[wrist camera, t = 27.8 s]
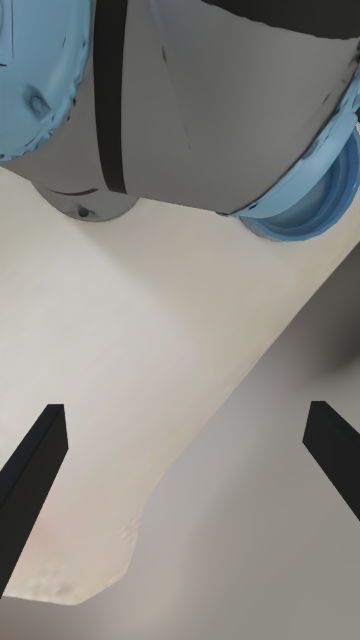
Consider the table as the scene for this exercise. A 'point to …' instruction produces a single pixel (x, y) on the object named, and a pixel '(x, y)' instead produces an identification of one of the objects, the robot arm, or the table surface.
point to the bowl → (316, 201)
